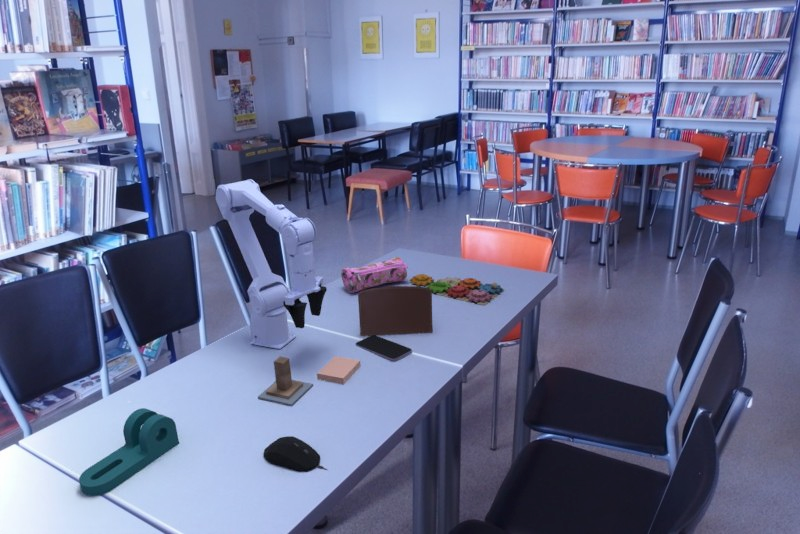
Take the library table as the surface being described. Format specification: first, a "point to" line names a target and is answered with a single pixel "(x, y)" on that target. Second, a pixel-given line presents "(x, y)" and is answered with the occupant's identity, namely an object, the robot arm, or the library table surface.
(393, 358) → the smartphone
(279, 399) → the mat
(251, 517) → the library table surface
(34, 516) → the library table surface
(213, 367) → the library table surface
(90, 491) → the bracket
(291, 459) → the gaming mouse
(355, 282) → the pencil case
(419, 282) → the gear puzzle
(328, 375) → the tile
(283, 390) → the stamp
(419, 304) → the letter holder
